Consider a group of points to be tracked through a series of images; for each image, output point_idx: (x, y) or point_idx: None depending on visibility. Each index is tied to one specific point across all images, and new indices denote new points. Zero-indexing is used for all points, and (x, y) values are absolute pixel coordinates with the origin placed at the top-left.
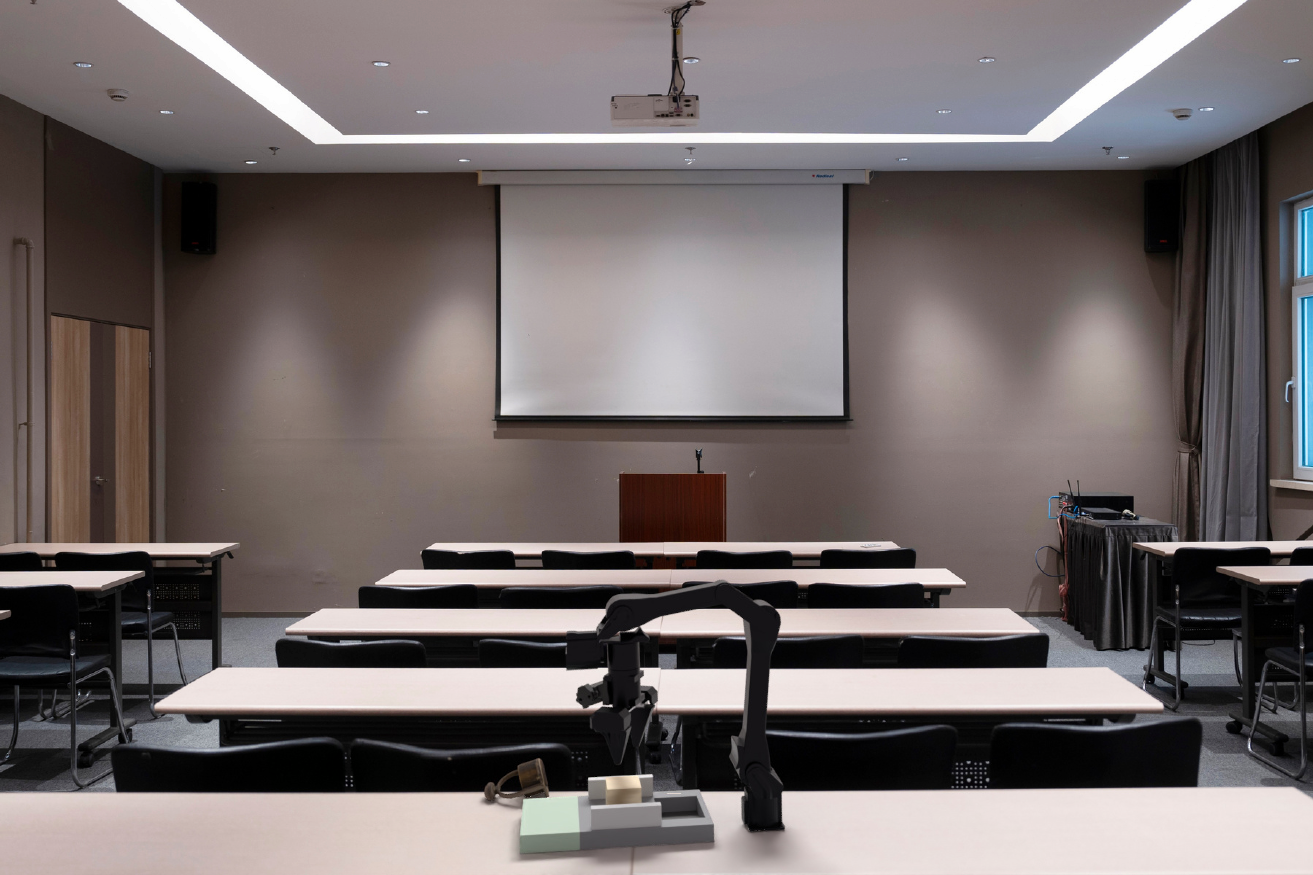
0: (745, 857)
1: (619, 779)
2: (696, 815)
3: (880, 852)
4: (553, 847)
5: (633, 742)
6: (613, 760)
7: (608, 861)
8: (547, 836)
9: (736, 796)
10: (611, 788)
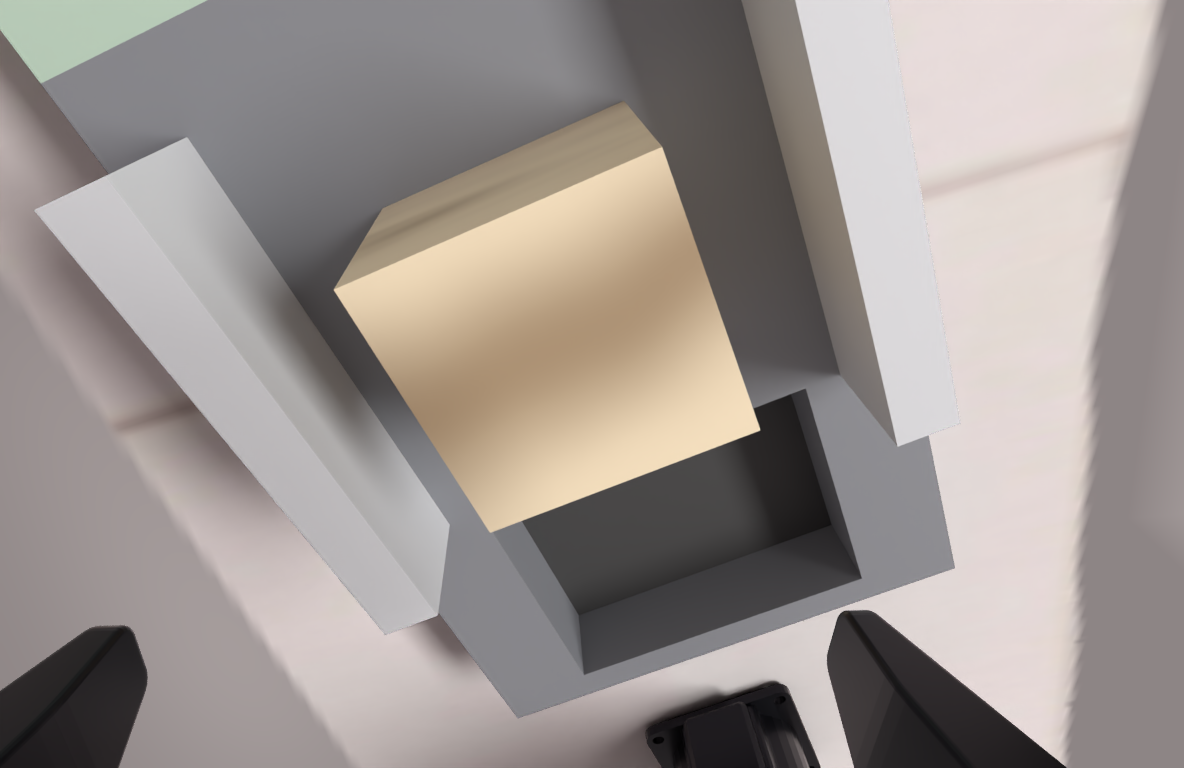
0: (421, 755)
1: (631, 309)
2: (769, 537)
3: None
4: None
5: (865, 659)
6: (40, 663)
7: (79, 303)
8: None
9: (1022, 613)
10: (378, 317)
